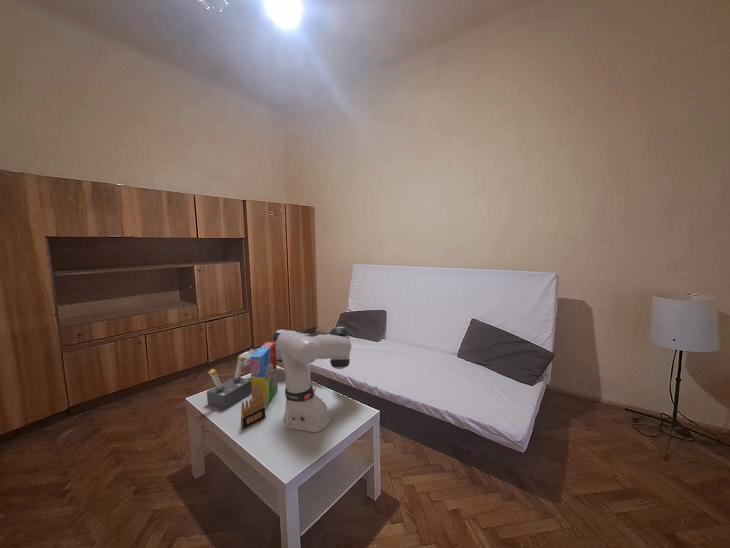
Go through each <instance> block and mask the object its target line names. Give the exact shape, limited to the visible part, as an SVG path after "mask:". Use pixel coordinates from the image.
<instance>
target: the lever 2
mask: <svg viewBox="0 0 730 548" xmlns="http://www.w3.org/2000/svg"><path fill="white" fill-rule="evenodd" d="M244 360H245V358H244V357H239V356H237V364H236V369H235V372H234V376H233V377H232V378H233V381H237V382H240V380H241V378H242V377H241V374H242V369H243V367H244V366H243V361H244Z"/></svg>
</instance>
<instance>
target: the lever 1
mask: <svg viewBox="0 0 730 548" xmlns="http://www.w3.org/2000/svg"><path fill="white" fill-rule="evenodd" d="M207 373H208V375H209V376H210V377H211V378H212V381H213V382H214V385H215V387H216V390H220V391H223V390H224V389H225V387H224V386H223V385H222V383H223V382H221V380H220V377H219V376H218V371H217V369H214V368H211V369H210V370H209V371H208V372H207Z"/></svg>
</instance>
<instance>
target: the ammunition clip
mask: <svg viewBox="0 0 730 548" xmlns="http://www.w3.org/2000/svg"><path fill="white" fill-rule="evenodd" d="M240 408H241V411H240V414H241V416H240V427H241V429H242V430H245V429H247V428H248V427H251V426H253V425H255V424H257V423H259V422H260V421H263V420H264V419H266V418H267V417H266V409H265V407H264V401H263V395H262V393H261V396H260V400H259V395H257V404H256V399H255V397H253V406H252V397H250V398H249V401H248V399H246V400H245V403H244V401H242V402H241V407H240Z"/></svg>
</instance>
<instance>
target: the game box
mask: <svg viewBox="0 0 730 548" xmlns="http://www.w3.org/2000/svg"><path fill="white" fill-rule="evenodd" d="M258 348H259V349H258V350H257V351H256V352H255V353H254V354H253V355H252V356H251V357H250V366H249V367H250V380H251V387H252V393H251V400H252V406H253V397H255V399H256V404H257V395H259V400H260V396H261V393H262V395H263V401H264V407H265V410H266V409H267V408H268V406H269V404H270V402H271V401H272V400H273V398H274V396H275V395H276V393H277V392H278V389H279V388H278V368H277V361H276V343H275V342H273V341H265V342H264V343H263V344H262V345H261V346H260V347H258Z"/></svg>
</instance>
